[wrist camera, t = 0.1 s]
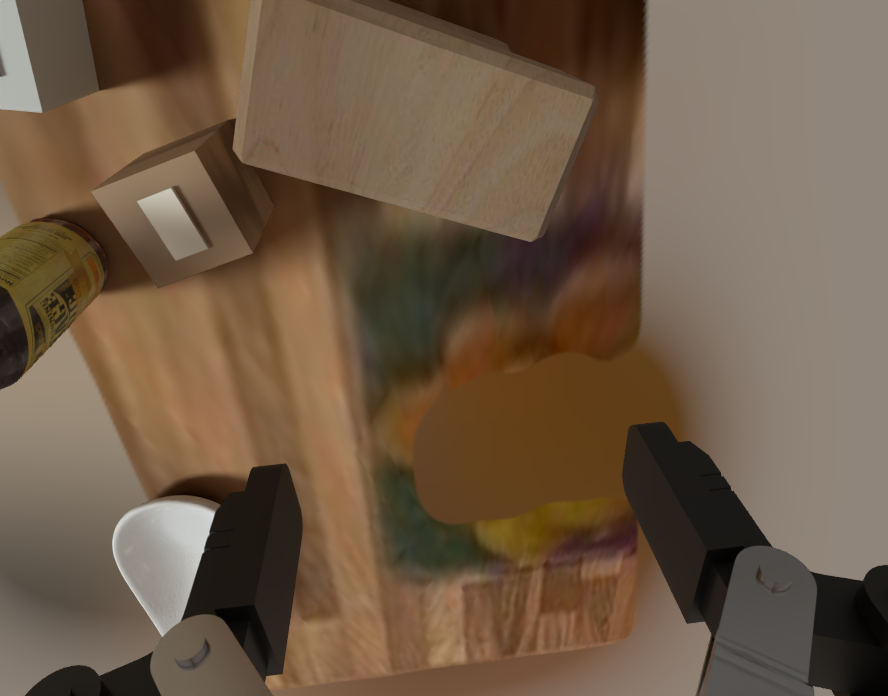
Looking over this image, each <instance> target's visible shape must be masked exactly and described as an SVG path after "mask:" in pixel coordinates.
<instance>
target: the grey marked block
mask: <svg viewBox="0 0 888 696" xmlns="http://www.w3.org/2000/svg"><path fill="white" fill-rule="evenodd" d="M98 91H99V86H98V81H97V75H96V70H95V65H94V60H93V54H92V49H91V44H90V39H89V33H88V28H87V23H86V17H85V12H84V7H83V2H82V0H0V109H6V110H17V111H29V112H40V113H43V112H46V111H48V110H51V109H53V108H56V107H59V106H61V105H64V104H66V103H69V102H72V101H74V100H77V99H79V98H82V97H85V96H87V95H90V94H92V93H95V92H98Z"/></svg>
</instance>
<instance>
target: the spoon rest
mask: <svg viewBox="0 0 888 696" xmlns="http://www.w3.org/2000/svg"><path fill="white" fill-rule="evenodd" d="M219 507H220V504H218V503H216V502H214V501H211V500H208V499H205V498H201V497H196V496H188V495H175V496H167V497H162V498H157V499H154V500H151V501H148V502H146V503H143V504H141V505H139V506H137V507H135V508H133V509H132V510H130V511H129V512H128V513H126V514H125V515H124V516H123V517H122V518H121V520H120V521H119V523H118V524H117V526H116V529H115V531H114V535H113V542H112V546H113V554H114V558H115V561H116V563H117V565H118V568H119V570H120V572H121V574H122V575H123V577H124V579H125V581H126V582H127V584H128V585H129V587H130V588H131V590H132V591H133V593H134V594H135V596H136V597H137V598H138V600H139V602H140V603H141V605H142V606H143V608H144V609H145V611H146V612H147V614H148V615H149V617H150V618H151V620H152V621H153V623H154V624H155V626H156V627H157V629H158V631H159V632H160V634H161V635H162V637H163V636H164V635H165V634H166V633H167V632H168V631H169V630H170V629H171V628H172V627H174V626H175V625H176V624H178V623H179V622H180V621H181V619H182V617H183V614H184V611H185V608H186V605H187V601H188V598H189V595H190V592H191V589H192V585H193V582H194V579H195V576H196V572H197V569H198V566H199V563H200V560H201V556H202V553H204V547H205V544H206V540H207V537H208V536H209V531H210V527H211V524H212V521H213V518H214V515H215V512H216V510H217V509H218V508H219Z"/></svg>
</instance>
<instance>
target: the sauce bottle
mask: <svg viewBox="0 0 888 696" xmlns="http://www.w3.org/2000/svg"><path fill="white" fill-rule="evenodd" d="M107 266H108V264H107V261H106V255H105V252H104V251H103V249H102V247H101V245H99V244H98V243H97V242H96V241H95V240H94V239H93V237H92V236H91V235H90V234H88V233H87V231H85V230H84V229H82V228H81V227H79V226H77V225H75V224H72V223H69V222H66V221H62V220H57V219H48V218H39V219H34V220H32V221H31V222H29V223H25V224H22V225H20V226H17V227H15V228H14V229H13V230H11V231H9V232H7V233H6V234H4V235H3V236H1V237H0V389H3V388H5V387H8V386H10V385H12V384H14V383H15V382H17V381H18V380H19V379H20V377H22V376H23V375H24V374H25V372H26V371H27V370H29V369H30V367H32V366H33V364H34V363H35V362H36V361H37V360H38V359H39V358H40V357H41V356H42V355H43V354H44V353H45V351H46V350H48V348H49V347H51V346H52V344H53V343H54V342H55V341H56V340H57V339H58V338H59V337H60V336H61V335H62V334H63V332H65V331H66V329H67V328H69V327H70V325H71V324H72V323H73V322H74V321H75V320H76V319H77V317H78V316H79V315H80V314H81V313H82V312H83V311H84V310H85V309H86V308H87V307H88V306H89V305H90V304H91V303H92V301H93V300H94V299H95V298H96V297H97V296H98V294H99V293H100V291H101V289H102V288H103V285H104V284H105V282H106V278H107Z"/></svg>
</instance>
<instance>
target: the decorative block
mask: <svg viewBox="0 0 888 696" xmlns="http://www.w3.org/2000/svg"><path fill="white" fill-rule="evenodd" d="M599 102H600V101H599V98H598V95H597V92H596V89H595V86H593V85H591V84H589V83H587V82H584V81H582V80H580V79H578V78H576V77H574V76H572V75H570V74H568V73H566V72H564V71H562V70H559V69H556V68H554V67H551V66H548V65H545V64H543V63H540V62H537V61H534V60H531V59H529V58H526V57H523V56H520V55H518V54H515V53H512V52H511V51H510V49H509V46H508V44H506V43H503V42H501V41H499V40H497V39H495V38H492V37H490V36H487V35H484V34H481V33H478V32H476V31H473V30H470V29H467V28H465V27H462V26H459V25H456V24H453V23H451V22H448V21H445V20H442V19H439V18H437V17H434V16H431V15H428V14H425V13H423V12H420V11H417V10H414V9H411V8H409V7H406V6H403V5H400V4H397V3H395V2H392V1H389V0H251V2H250V10H249V18H248V26H247V35H246V43H245V51H244V59H243V67H242V75H241V84H240V92H239V100H238V108H237V116H236V124H235V133H234V141H233V151H234V152H235V153H236V155H237V156H238V158H239V159H240V160H241V162H242V163H244V164H247V165H251V166H255V167H258V168H262V169H266V170H269V171H273V172H276V173H280V174H284V175H287V176H291V177H295V178H298V179H302V180H306V181H309V182H313V183H316V184H320V185H324V186H327V187H331V188H335V189H338V190H342V191H346V192H349V193H353V194H357V195H360V196H364V197H367V198H371V199H375V200H378V201H382V202H386V203H389V204H393V205H397V206H400V207H404V208H408V209H411V210H415V211H419V212H422V213H426V214H430V215H433V216H437V217H441V218H444V219H448V220H452V221H455V222H459V223H463V224H466V225H470V226H474V227H478V228H481V229H485V230H489V231H492V232H496V233H500V234H503V235H507V236H511V237H514V238H518V239H522V240H525V241H529V242H532V241H534V240H536V239H538V238H540V237H542V236H544V233H545V231H546V229H547V226H548V224H549V221H550V219H551V217H552V214H553V212H554V209H555V207H556V205H557V202H558V200H559V197H560V195H561V193H562V190H563V188H564V185H565V183H566V181H567V178H568V176H569V173H570V171H571V169H572V166H573V164H574V161H575V159H576V157H577V154H578V152H579V150H580V147H581V145H582V142H583V140H584V138H585V135H586V133H587V130H588V128H589V126H590V123H591V121H592V118H593V116H594V114H595V111H596V109H597V106H598V104H599Z"/></svg>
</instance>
